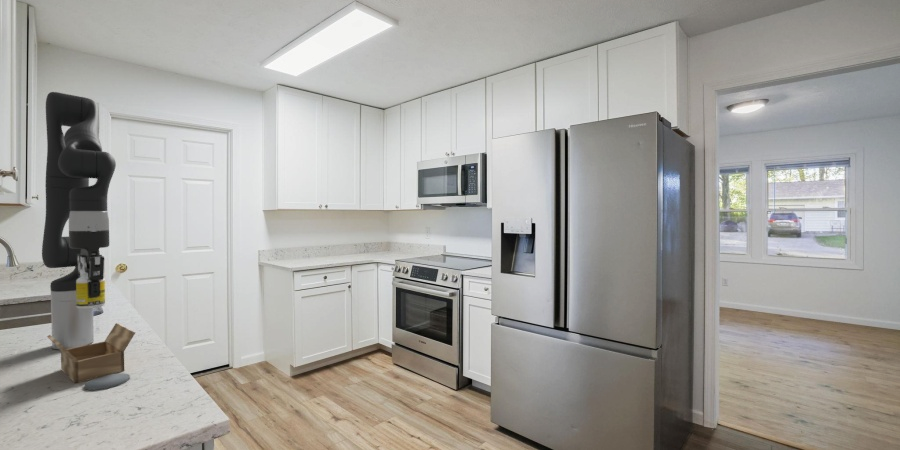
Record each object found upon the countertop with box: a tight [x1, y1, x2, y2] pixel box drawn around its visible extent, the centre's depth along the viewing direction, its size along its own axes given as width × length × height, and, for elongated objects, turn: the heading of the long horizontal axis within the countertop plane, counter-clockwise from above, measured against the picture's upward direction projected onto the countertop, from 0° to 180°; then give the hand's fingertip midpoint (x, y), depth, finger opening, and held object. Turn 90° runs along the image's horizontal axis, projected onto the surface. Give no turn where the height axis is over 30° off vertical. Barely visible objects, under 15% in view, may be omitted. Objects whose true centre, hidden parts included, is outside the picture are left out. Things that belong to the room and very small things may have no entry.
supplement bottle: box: [76, 269, 106, 309], centre depth 99 cm, size 5×5×10 cm
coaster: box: [84, 372, 131, 391], centre depth 92 cm, size 8×8×1 cm
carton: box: [46, 322, 136, 384], centre depth 100 cm, size 14×14×10 cm
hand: (90, 295), depth 99 cm, fingers closed on supplement bottle, 5 cm apart
